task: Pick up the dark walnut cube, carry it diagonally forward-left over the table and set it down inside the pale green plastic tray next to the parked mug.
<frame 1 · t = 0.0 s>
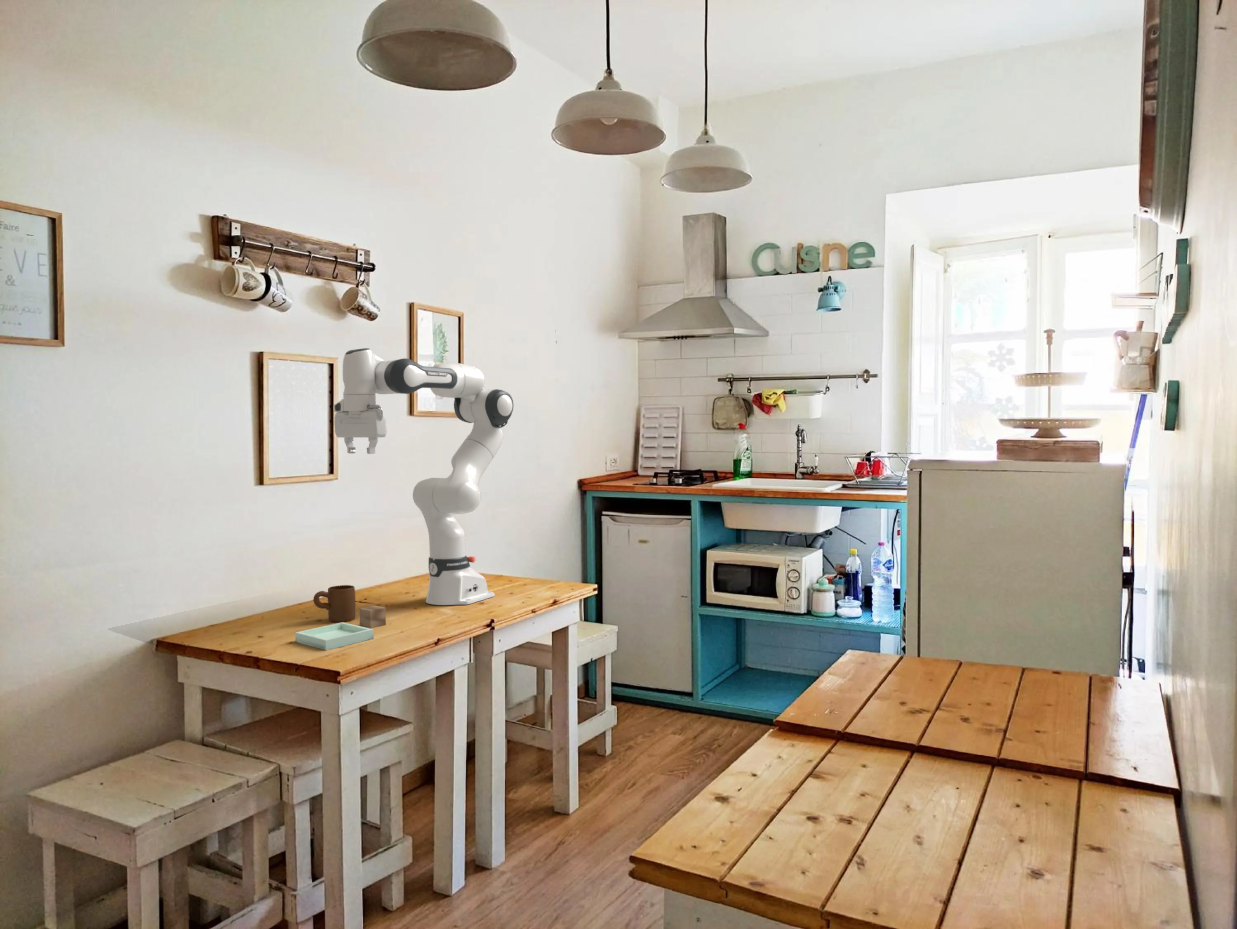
hand: (361, 453, 245), 48 cm above the table, fingers open, 8 cm apart
mug: (334, 621, 247), on the table
tray: (334, 640, 224), on the table
block: (372, 625, 240), on the table
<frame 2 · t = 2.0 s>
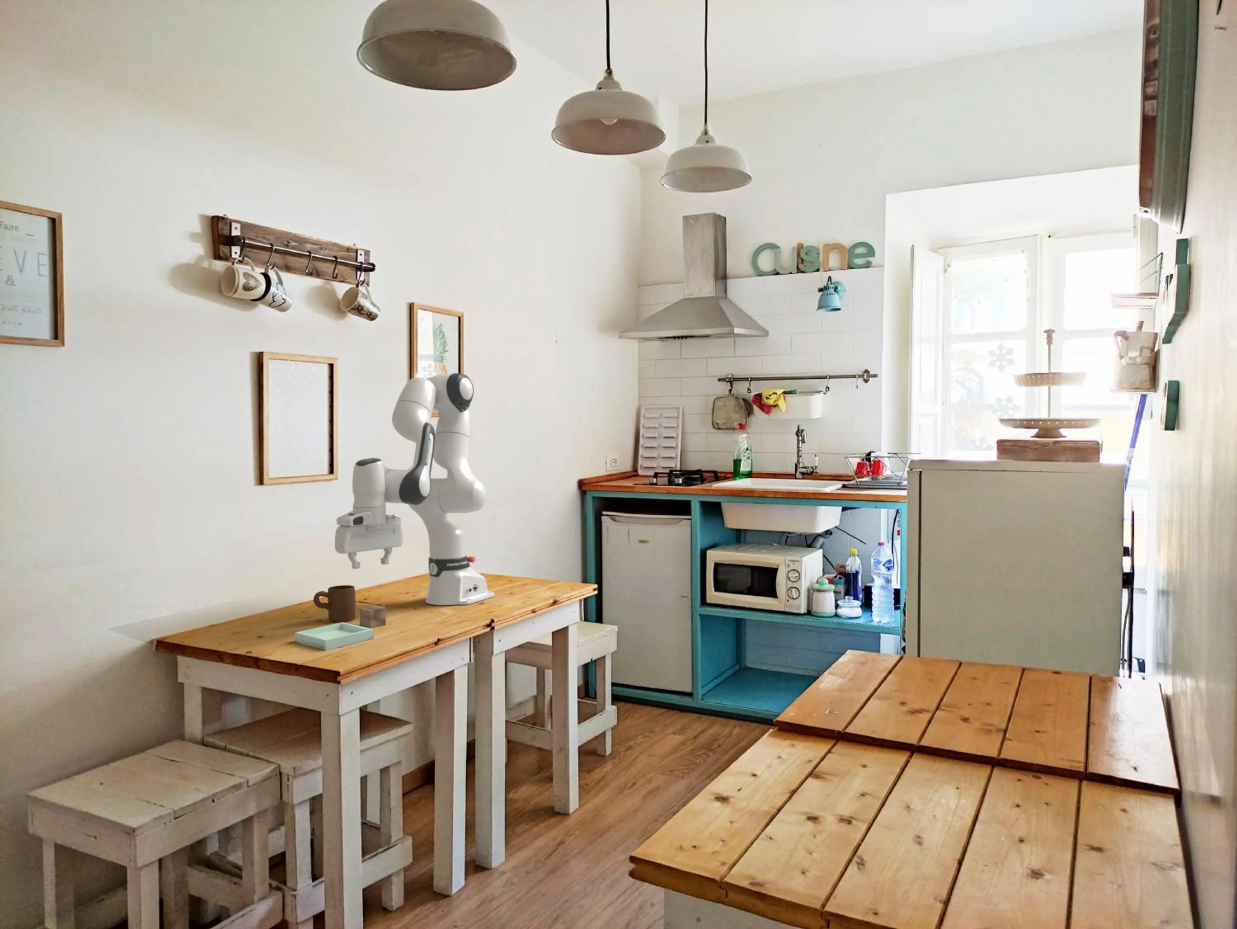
hand: (370, 566, 239), 17 cm above the table, fingers open, 8 cm apart
nothing on the table moved.
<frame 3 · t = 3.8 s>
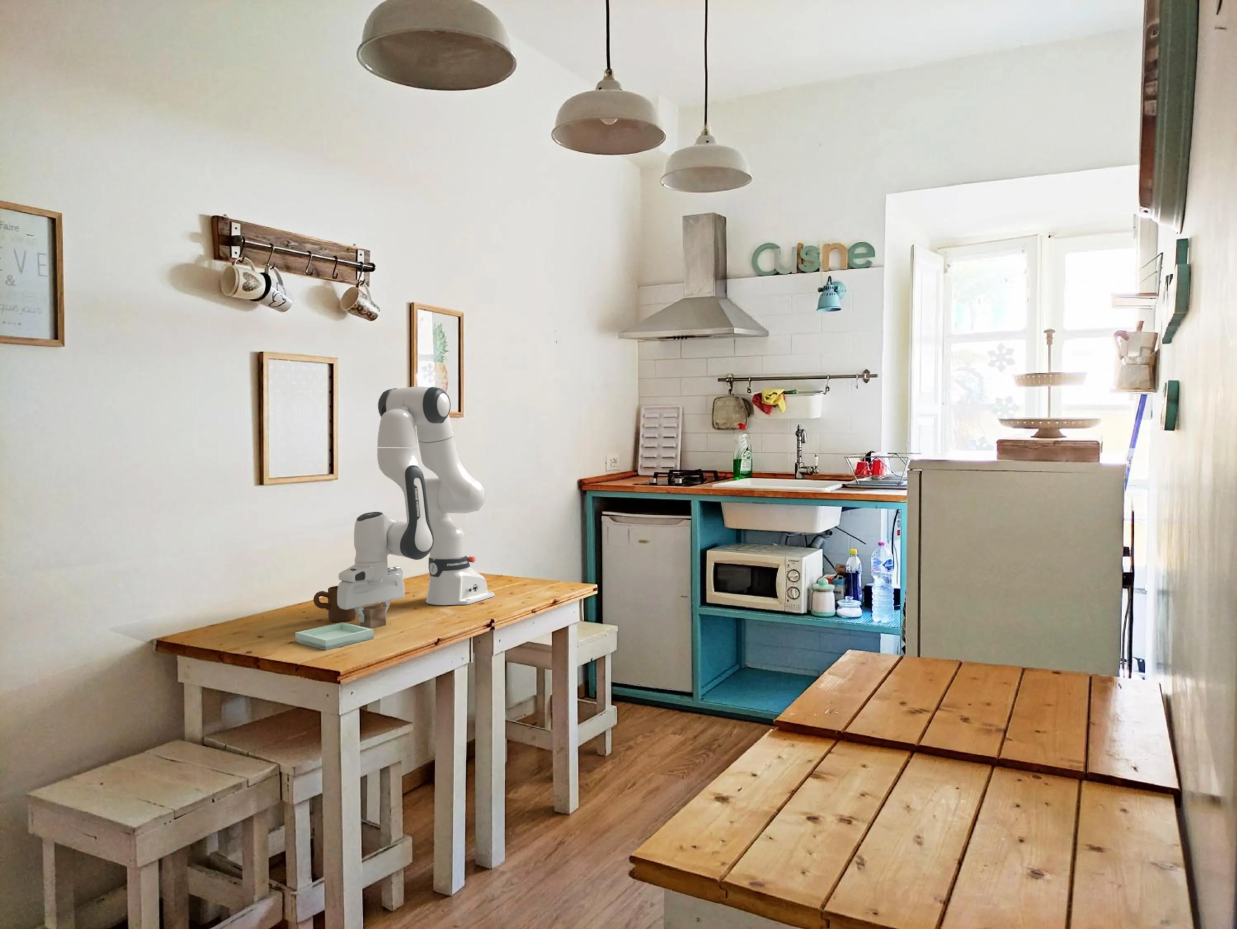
hand: (372, 619, 240), 2 cm above the table, fingers closed on block, 5 cm apart
block: (372, 625, 240), on the table, touching gripper
everything else where it was.
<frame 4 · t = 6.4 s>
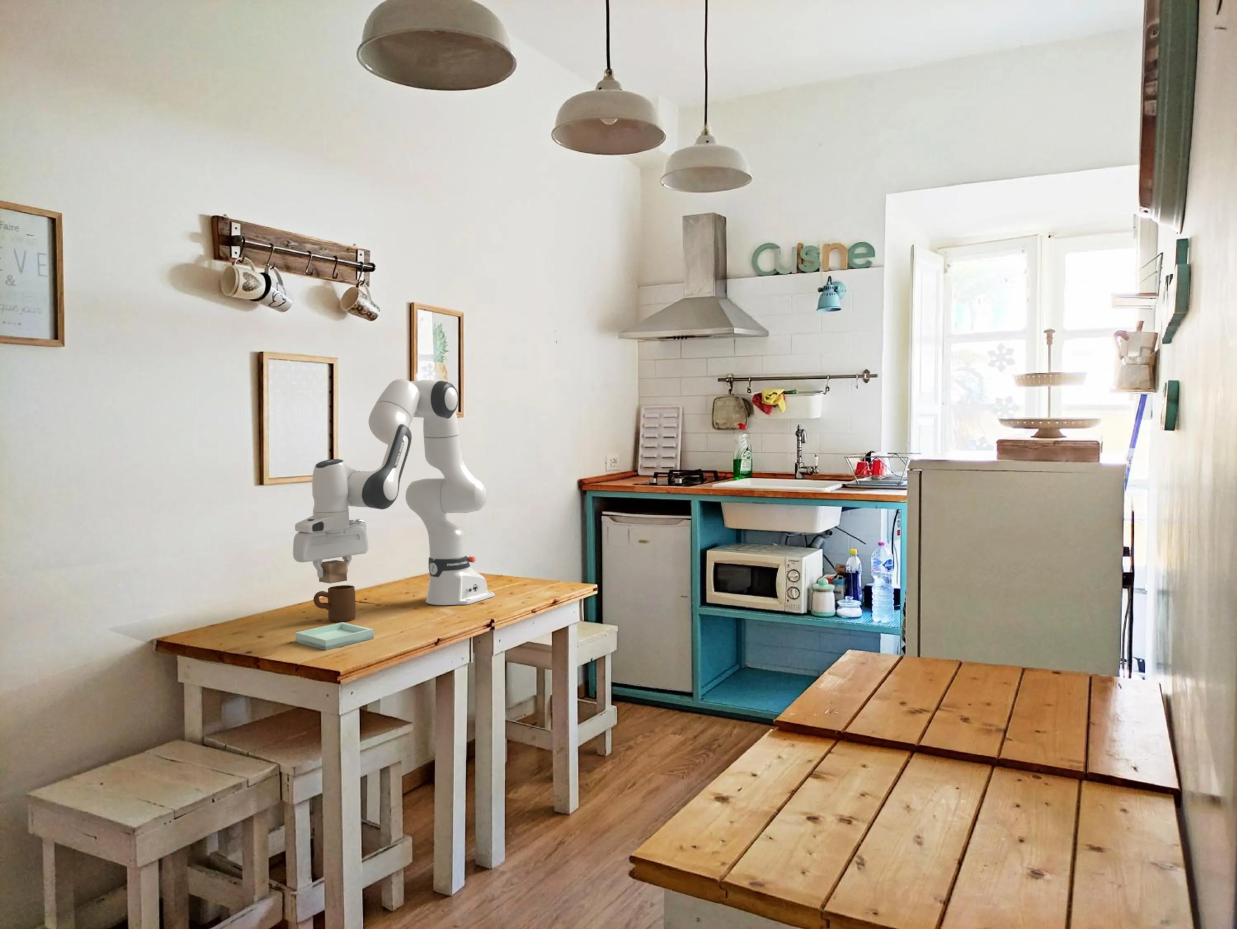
hand: (332, 575, 223), 17 cm above the table, fingers closed on block, 5 cm apart
block: (333, 581, 223), point 16 cm above the table, touching gripper
everything else where it was.
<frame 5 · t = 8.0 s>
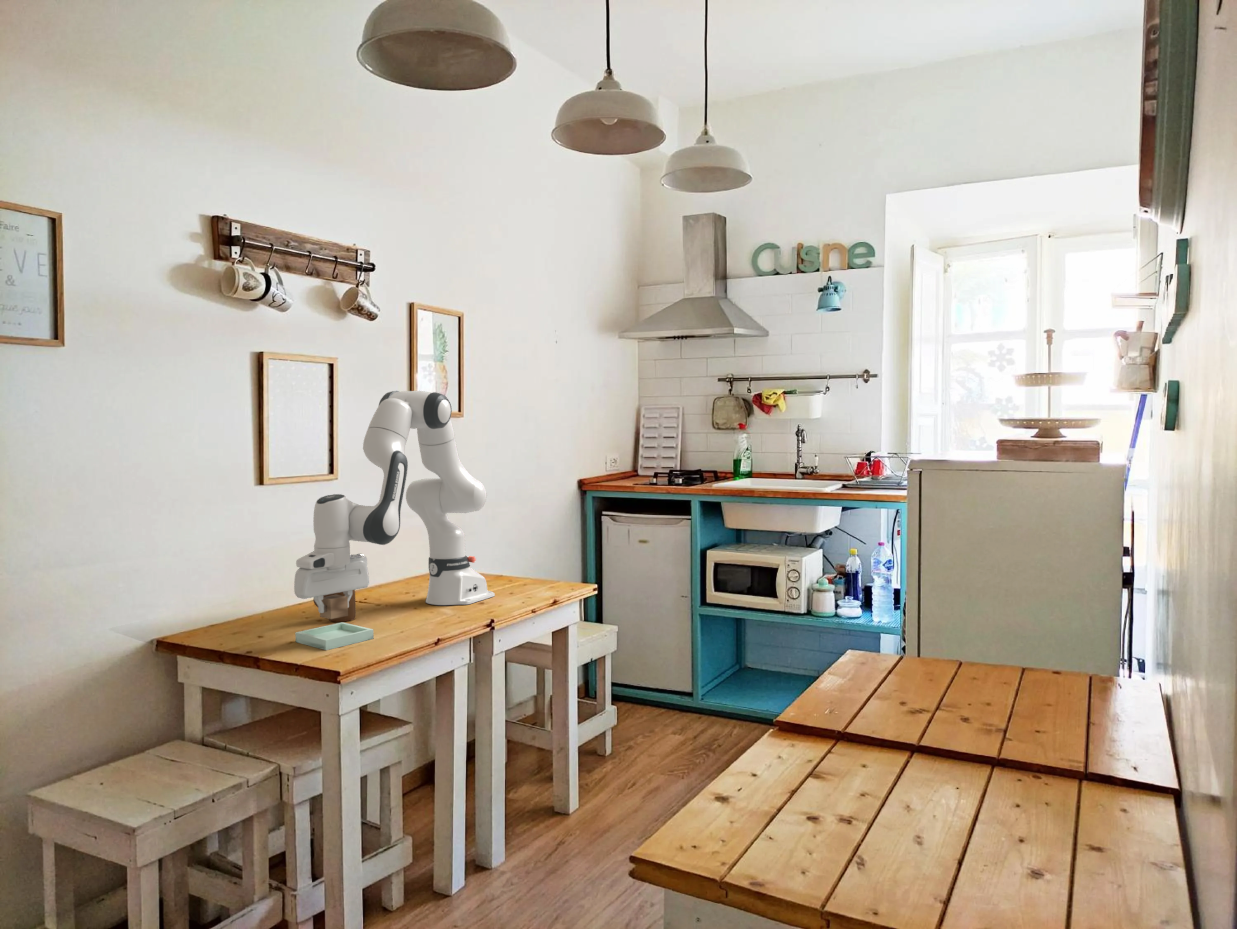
hand: (333, 610, 223), 8 cm above the table, fingers closed on block, 5 cm apart
block: (334, 616, 223), point 6 cm above the table, touching gripper
everything else where it was.
when the fingers open (4 cm above the table, at t = 9.3 s): block stays where it is, resting on tray.
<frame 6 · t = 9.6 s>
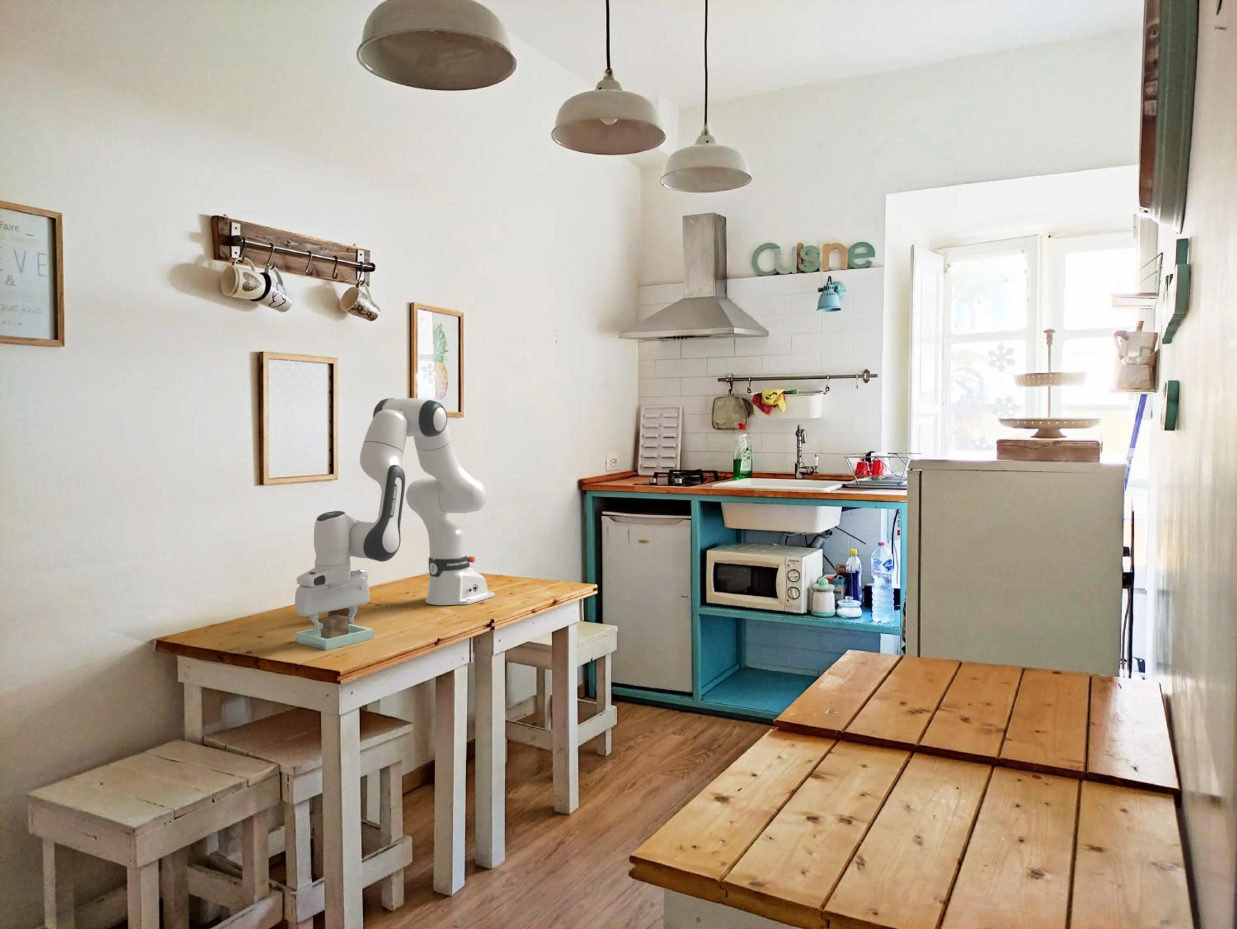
hand: (334, 626, 224), 4 cm above the table, fingers open, 8 cm apart
block: (334, 636, 224), point 1 cm above the table, touching tray
everything else where it was.
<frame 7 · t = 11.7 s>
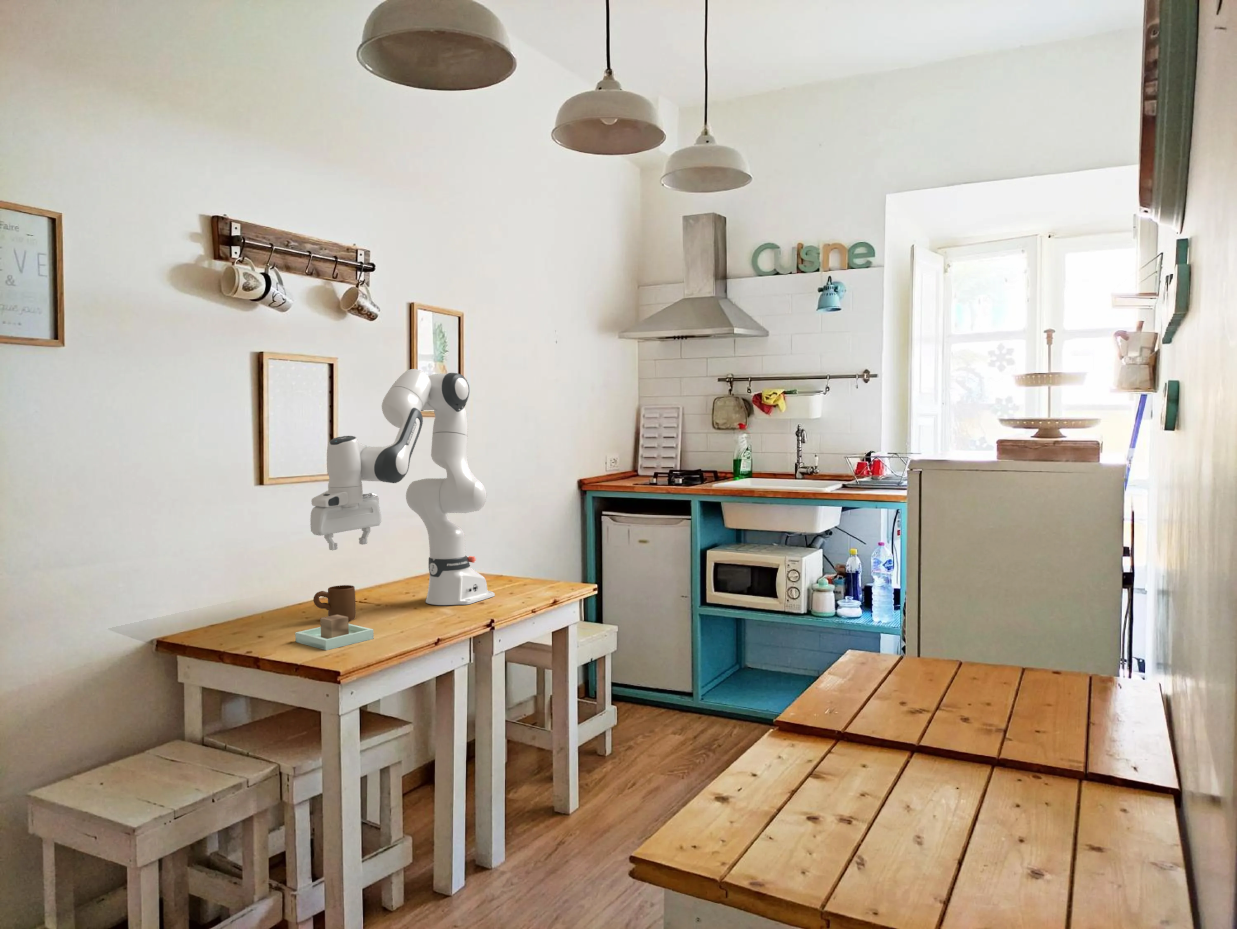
hand: (348, 546, 233), 23 cm above the table, fingers open, 8 cm apart
nothing on the table moved.
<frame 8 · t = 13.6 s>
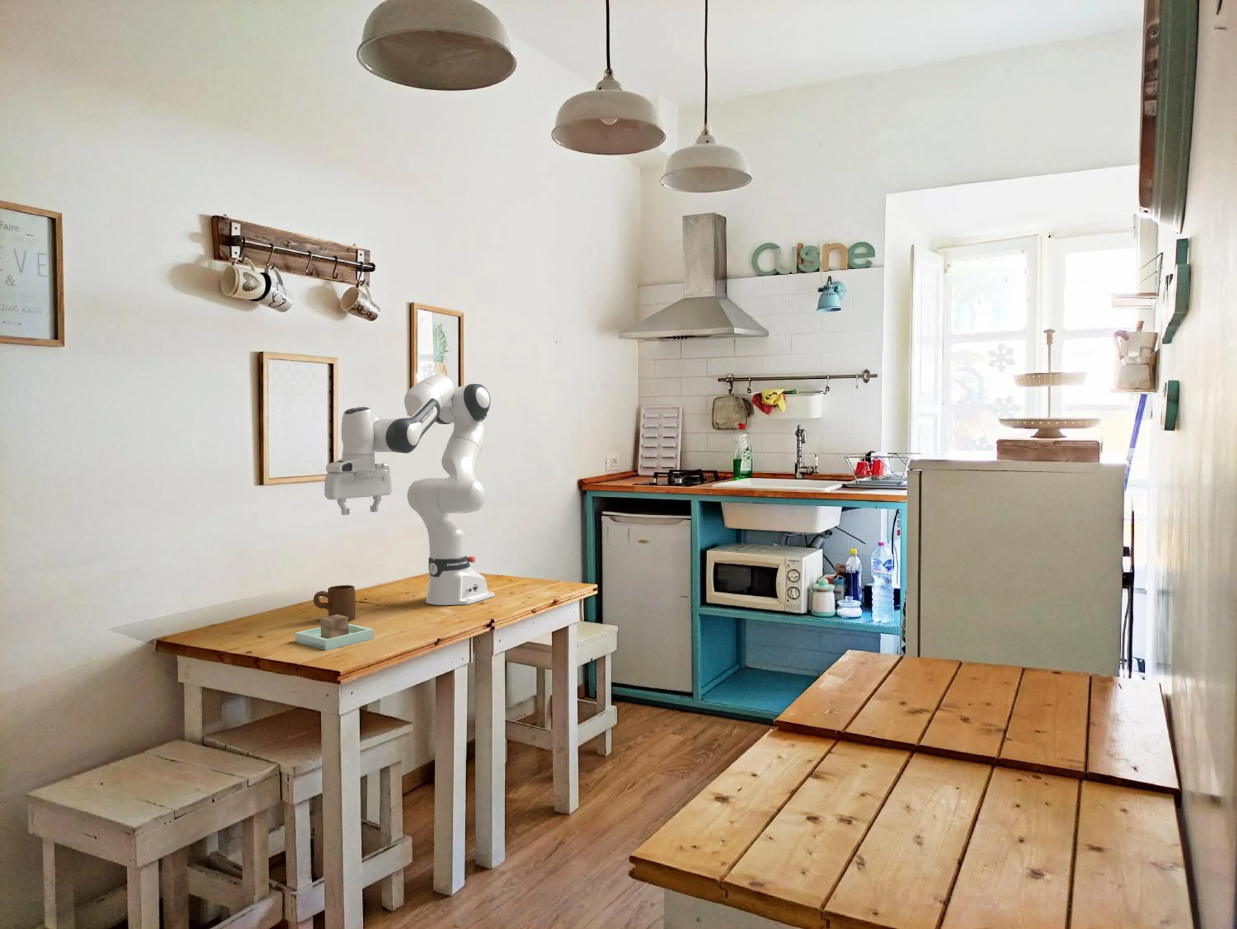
hand: (360, 513, 243), 31 cm above the table, fingers open, 8 cm apart
nothing on the table moved.
at the end: block inside the target area on the tray (0.1 cm from its centre), point 1.0 cm above the tray's base; block tilted 0°; the gripper is holding nothing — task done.
